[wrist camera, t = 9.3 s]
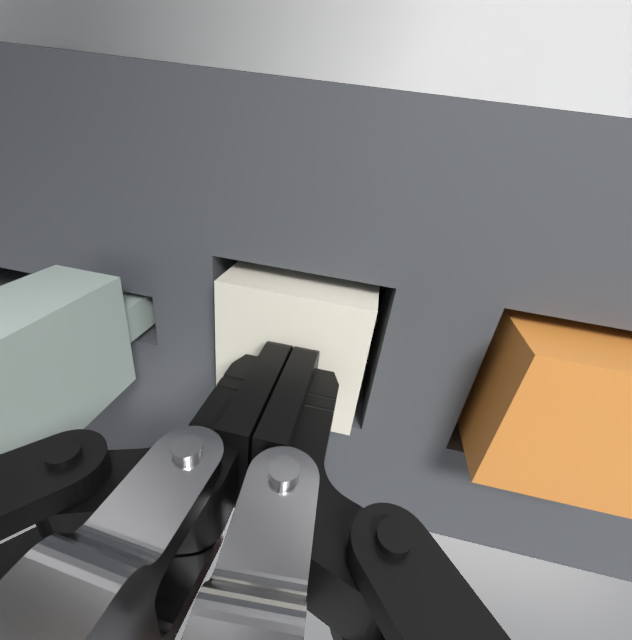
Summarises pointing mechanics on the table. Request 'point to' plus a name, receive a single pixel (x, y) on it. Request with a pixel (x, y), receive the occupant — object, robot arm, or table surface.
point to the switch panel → (328, 249)
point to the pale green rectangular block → (64, 350)
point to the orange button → (553, 413)
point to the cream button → (298, 323)
